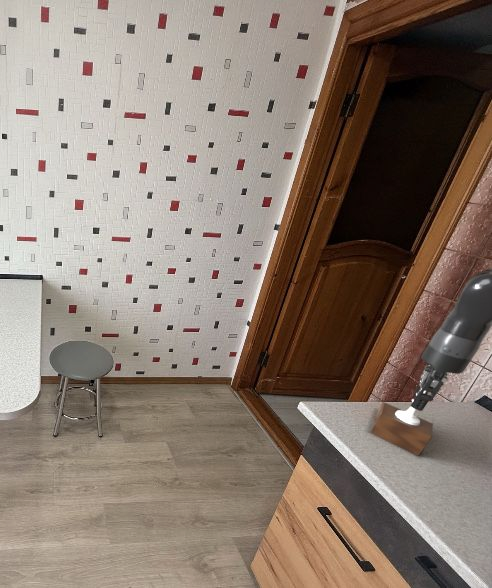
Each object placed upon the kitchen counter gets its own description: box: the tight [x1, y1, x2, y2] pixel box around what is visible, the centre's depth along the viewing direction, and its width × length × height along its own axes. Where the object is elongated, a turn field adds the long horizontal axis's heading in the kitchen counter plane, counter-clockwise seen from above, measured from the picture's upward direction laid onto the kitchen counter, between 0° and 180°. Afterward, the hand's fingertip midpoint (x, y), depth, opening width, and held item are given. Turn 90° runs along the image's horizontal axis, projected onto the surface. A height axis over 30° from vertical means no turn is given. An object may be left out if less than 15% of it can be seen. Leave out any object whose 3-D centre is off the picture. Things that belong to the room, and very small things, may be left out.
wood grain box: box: [369, 401, 434, 457], centre depth 93 cm, size 10×14×7 cm
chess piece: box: [395, 391, 426, 426], centre depth 87 cm, size 5×5×10 cm
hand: (417, 402), depth 87 cm, fingers open, 6 cm apart
